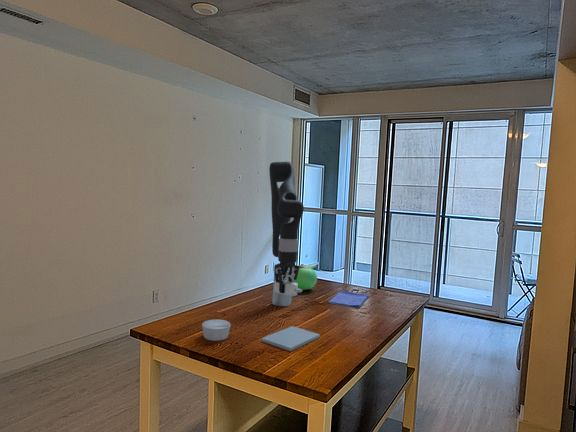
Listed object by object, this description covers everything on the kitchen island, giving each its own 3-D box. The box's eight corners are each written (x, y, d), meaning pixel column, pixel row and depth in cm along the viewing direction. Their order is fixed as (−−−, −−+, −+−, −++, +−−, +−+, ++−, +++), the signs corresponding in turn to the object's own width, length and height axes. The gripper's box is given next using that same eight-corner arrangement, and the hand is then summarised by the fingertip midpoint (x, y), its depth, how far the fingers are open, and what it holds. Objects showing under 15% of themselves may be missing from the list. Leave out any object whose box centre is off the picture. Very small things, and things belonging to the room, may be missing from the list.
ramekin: (217, 344, 160) (217, 330, 160) (195, 337, 166) (195, 324, 166) (235, 336, 170) (236, 323, 169) (214, 330, 176) (215, 317, 175)
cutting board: (292, 328, 182) (292, 326, 181) (319, 337, 173) (319, 334, 173) (261, 341, 166) (261, 338, 166) (290, 351, 157) (290, 348, 157)
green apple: (283, 291, 244) (284, 265, 243) (288, 284, 260) (289, 260, 259) (314, 294, 241) (316, 268, 240) (317, 287, 258) (319, 263, 256)
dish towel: (369, 298, 239) (369, 293, 239) (359, 309, 218) (360, 304, 217) (339, 294, 246) (339, 289, 246) (327, 304, 224) (327, 299, 224)
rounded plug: (279, 290, 176) (279, 279, 176) (303, 295, 168) (304, 284, 168) (272, 291, 173) (272, 280, 172) (297, 297, 165) (297, 286, 165)
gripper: (291, 247, 178) (289, 287, 179) (269, 249, 167) (267, 293, 168) (306, 249, 173) (303, 291, 174) (284, 252, 162) (281, 296, 163)
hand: (285, 291), depth 171 cm, fingers closed on rounded plug, 4 cm apart
